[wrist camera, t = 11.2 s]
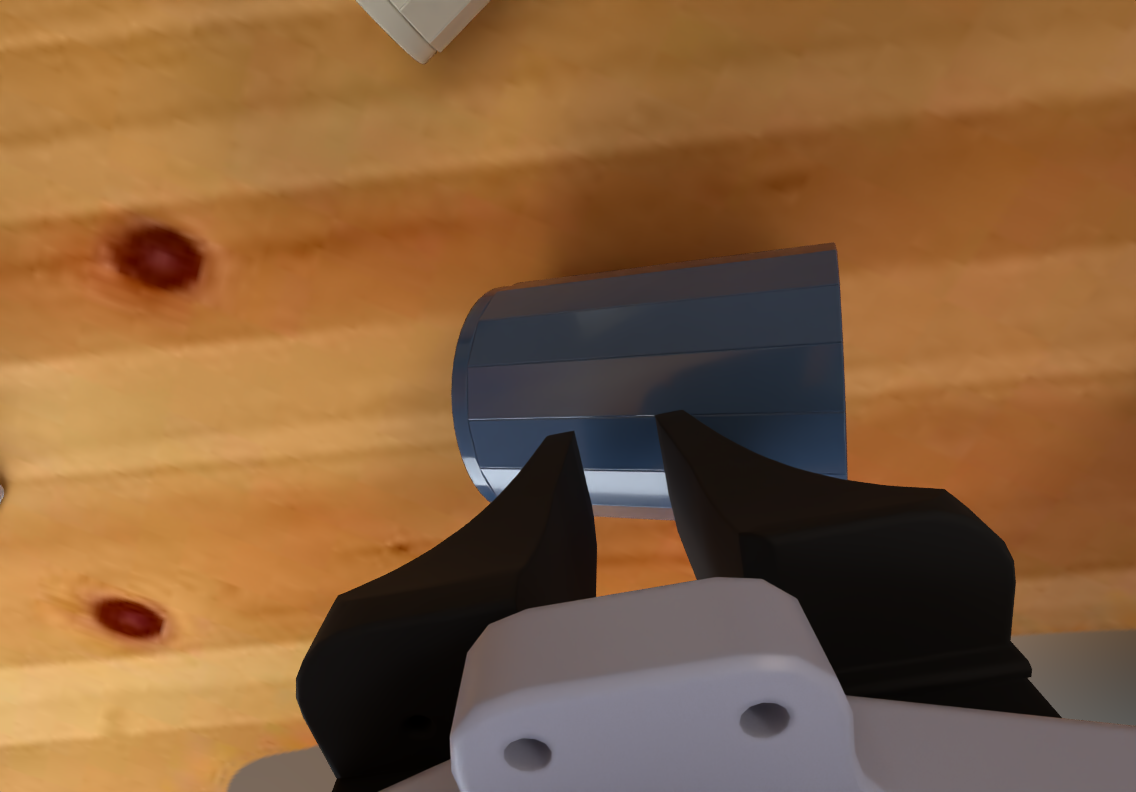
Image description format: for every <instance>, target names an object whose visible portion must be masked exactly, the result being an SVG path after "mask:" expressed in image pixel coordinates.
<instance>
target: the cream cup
mask: <svg viewBox="0 0 1136 792" xmlns="http://www.w3.org/2000/svg"><path fill="white" fill-rule="evenodd" d="M490 1H491V0H356V2H357V3H358V4H359V5H360V6H361V7H362V8H363V9H364V10H365V11H366V12H367V13H368V14H369V15H370V16H371V17H372V18H373V20H374V21H375V22H376V23H377V24H378V25H379V26H380V27H381V28H382V29H383V30H384V31H385V32H386V33H387V34H388V35H389V36H390V37H391V38H392V39H393V40H394V41H395V42H396V43H397V44H398V45H399V46H400V47H401V48H402V49H403V50H405V51H406V52H407V53H408V54H409V55H410V56H411V57H412V58H414V59H415V60H416V61H417V62H419V63H421V64H423V65H424V64H426V63H427V62H428V61H429V60H430V59H431V58H432V57H433V56H434V55H435V54H436V53H437V51H438V52H442V51H443V50H444V48H445V47H446V46H447V45H448V44H449V43H450V42H451V41H452V40H453V39H454V38H455V37H456V36H457V35H458V34H459V33H460V32H461V31H462V30H463V29H464V28H465V27H466V26H467V25H468V24H469V23H470V22H471V20H472V19H473V18H474V17H475V16H476V15H477V14H478V13H479V12H480V11H481V10H482V9H483V8H484V7H485V6H486V5H487V4H488V3H489V2H490Z"/></svg>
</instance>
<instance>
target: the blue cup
mask: <svg viewBox="0 0 1136 792" xmlns="http://www.w3.org/2000/svg"><path fill="white" fill-rule="evenodd" d="M451 397H452V414H453V422H454V429H455V434H456V439H457V443H458V447H459V450H460V454H461V457H462V460H463V463H464V465H465V467H466V470H467V472H468V474H469V476H470V478H471V480H472V482H473V484H474V485H475V486H476V488H477V489H478V491H479V492H480V493H481V494H482V495H483V496H484V497H485V498H486V499H487V500H488V501H489V502H490V503H491V502H492V501H494V500H495V499H496V498H497V496H498V495H499V494H500V493H501V492H502V491H503V490H504V489H505V488H506V486H507V485H508V484H509V483H510V482H511V481H512V480H513V479H514V478H515V477H516V475H517V474H518V473H519V472H520V470H521V469H522V468H523V467H524V465H525V464H526V463H527V462H528V460H529V459H530V458H531V456H532V455H533V454H534V452H535V451H536V450H537V448H538V447H539V446H540V444H541V443H542V442H543V440H544V439H545V438H546V437H547V436H548V435H554V434H559V433H564V432H569V431H575V436H576V440H577V444H578V448H579V453H580V457H581V461H582V465H583V470H584V474H585V478H586V482H587V486H588V491H589V495H590V499H591V503H592V508H593V515H594V516H597V517H617V518H637V519H657V520H675V518H674V514H673V510H672V506H671V502H670V498H669V494H668V488H667V482H666V477H665V471H664V465H663V460H662V454H661V448H660V443H659V437H658V431H657V426H656V420H655V415H657V414H662V413H667V412H672V411H678V410H684V411H686V412H687V413H689V414H690V415H692V416H693V417H695V418H696V419H697V420H699V421H700V422H702V423H703V424H705V425H706V426H708V427H709V428H711V429H713V430H714V431H716V432H717V433H719V434H721V435H722V436H724V437H726V438H728V439H730V440H731V441H733V442H735V443H737V444H739V445H741V446H743V447H745V448H747V449H749V450H751V451H753V452H755V453H757V454H760V455H762V456H765V457H767V458H770V459H772V460H775V461H778V462H781V463H783V464H786V465H789V466H792V467H795V468H799V469H802V470H805V471H809V472H813V473H818V474H822V475H826V476H830V477H834V478H840V479H845V480H848V474H847V435H846V402H845V377H844V353H843V332H842V314H841V296H840V280H839V268H838V255H837V249H836V245H835V243H825V244H817V245H810V246H802V247H794V248H786V249H778V250H770V251H763V252H755V253H747V254H739V255H731V256H724V257H716V258H708V259H700V260H692V261H685V262H677V263H669V264H661V265H653V266H645V267H638V268H630V269H622V270H614V271H606V272H599V273H591V274H583V275H575V276H567V277H560V278H552V279H544V280H536V281H528V282H520V283H516V284H514V285H511V286H503V287H498V288H494V289H492V290H490V291H488V292H487V293H485V294H484V295H483V296H482V297H481V298H480V299H478V301H477V302H476V303H475V304H474V306H473V307H472V308H471V310H470V312H469V314H468V315H467V317H466V319H465V322H464V324H463V327H462V329H461V332H460V335H459V339H458V342H457V346H456V351H455V356H454V362H453V371H452V390H451Z"/></svg>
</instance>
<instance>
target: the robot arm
mask: <svg viewBox="0 0 1136 792" xmlns="http://www.w3.org/2000/svg"><path fill="white" fill-rule="evenodd" d="M655 420H656V426H657V431H658V437H659V443H660V448H661V454H662V460H663V465H664V471H665V477H666V482H667V488H668V494H669V498H670V502H671V506H672V510H673V514H674V518H675V522H676V526H677V530H678V533H679V535H680V538H681V541H682V543H683V546H684V548H685V551H686V553H687V556H688V558H689V561H690V563H691V566H692V568H693V571H694V574H695V576H696V579H697V580H695V581H689V582H683V583H678V584H672V585H666V586H660V587H654V588H648V589H642V590H636V591H630V592H624V593H618V594H612V595H606V596H600V597H596V569H597V542H596V533H595V524H594V515H593V508H592V503H591V499H590V495H589V491H588V486H587V482H586V478H585V474H584V470H583V465H582V461H581V457H580V453H579V448H578V444H577V440H576V436H575V431H569V432H564V433H559V434H554V435H548V436H547V437H546V438H545V439H544V440H543V442H542V443H541V444H540V446H539V447H538V448H537V450H536V451H535V452H534V454H533V455H532V456H531V458H530V459H529V460H528V462H527V463H526V464H525V465H524V467H523V468H522V469H521V470H520V472H519V473H518V474H517V475H516V477H515V478H514V479H513V480H512V481H511V482H510V483H509V484H508V485H507V486H506V488H505V489H504V490H503V491H502V492H501V493H500V494H499V495H498V496H497V498H496V499H495V500H494V501H492V502H491V503H490V504H489V505H488V506H487V507H486V508H485V509H484V510H483V511H482V512H481V513H479V514H478V515H477V516H476V517H475V518H474V519H472V520H471V521H470V522H469V523H468V524H466V525H465V526H464V527H462V528H461V529H460V530H458V531H457V532H455V533H454V534H453V535H451V536H450V537H448V538H447V539H446V540H444V541H443V542H441V543H440V544H438V545H437V546H436V547H434V548H433V549H431V550H429V551H428V552H426V553H424V554H423V555H421V556H419V557H418V558H416V559H414V560H412V561H411V562H409V563H407V564H405V565H403V566H401V567H400V568H398V569H396V570H394V571H392V572H390V573H388V574H386V575H384V576H382V577H379V578H377V579H375V580H373V581H371V582H368V583H366V584H364V585H362V586H359V587H357V588H355V589H353V590H350V591H348V592H346V593H343V594H341V595H338V597H337V598H336V600H335V602H334V603H333V605H332V607H331V609H330V611H329V613H328V614H327V616H326V618H325V620H324V622H323V624H322V626H321V628H320V629H319V631H318V633H317V635H316V637H315V639H314V641H313V643H312V645H311V646H310V648H309V650H308V652H307V654H306V656H305V658H304V660H303V662H302V665H301V667H300V670H299V672H298V675H297V677H296V699H297V701H298V704H299V707H300V710H301V713H302V715H303V718H304V719H305V721H306V723H307V725H308V727H309V729H310V730H311V732H312V734H313V736H314V738H315V740H316V742H317V743H318V745H319V747H320V749H321V750H322V753H323V754H324V756H325V758H326V760H327V762H328V764H329V765H330V767H331V769H332V771H333V772H334V775H335V777H336V778H337V780H336V782H335V785H334V788H333V790H332V792H1136V726H1130V725H1121V724H1111V723H1102V722H1092V721H1083V720H1073V719H1064V718H1062V717H1061V716H1060V715H1059V714H1058V713H1057V712H1056V710H1055V709H1054V708H1053V707H1052V706H1051V705H1050V704H1049V702H1048V701H1047V700H1046V699H1045V698H1044V697H1043V696H1042V694H1041V693H1040V692H1039V691H1038V690H1037V689H1036V688H1035V687H1034V685H1033V684H1032V683H1031V682H1030V681H1029V680H1028V677H1031V673H1032V668H1031V666H1030V663H1029V661H1028V660H1027V659H1026V658H1025V657H1024V655H1023V654H1022V653H1021V652H1020V651H1019V650H1018V649H1017V648H1016V647H1015V646H1014V645H1013V643H1012V642H1011V641H1010V639H1011V628H1012V617H1013V607H1014V596H1015V585H1016V580H1015V568H1014V560H1013V558H1012V556H1011V554H1010V552H1009V550H1008V548H1007V546H1006V544H1005V542H1004V541H1003V540H1002V539H1001V538H1000V537H999V536H998V535H997V534H995V533H994V532H993V531H992V530H991V529H990V528H989V527H988V526H987V525H986V524H985V523H984V522H983V521H982V520H981V519H979V518H978V517H977V516H976V515H975V514H974V513H973V512H972V511H971V510H970V509H969V508H968V507H966V506H965V505H964V504H963V503H961V502H960V501H959V500H958V499H956V498H955V497H954V496H953V495H951V494H950V493H949V492H947V491H946V490H945V489H933V488H916V487H900V486H886V485H878V484H871V483H864V482H857V481H850V480H845V479H840V478H834V477H830V476H826V475H822V474H818V473H813V472H809V471H805V470H802V469H799V468H795V467H792V466H789V465H786V464H783V463H781V462H778V461H775V460H772V459H770V458H767V457H765V456H762V455H760V454H757V453H755V452H753V451H751V450H749V449H747V448H745V447H743V446H741V445H739V444H737V443H735V442H733V441H731V440H730V439H728V438H726V437H724V436H722V435H721V434H719V433H717V432H716V431H714V430H713V429H711V428H709V427H708V426H706V425H705V424H703V423H702V422H700V421H699V420H697V419H696V418H695V417H693V416H692V415H690V414H689V413H687V412H686V411H684V410H678V411H672V412H667V413H662V414H657V415H655ZM3 497H4V490H3V487H2V486H1V484H0V503H1V501H2V499H3Z"/></svg>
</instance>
